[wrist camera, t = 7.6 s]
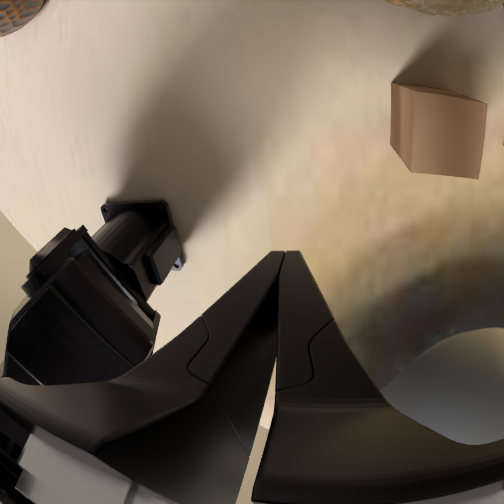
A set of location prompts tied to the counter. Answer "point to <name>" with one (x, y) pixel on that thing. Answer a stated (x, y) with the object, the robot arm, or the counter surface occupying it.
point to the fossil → (449, 6)
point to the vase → (17, 14)
